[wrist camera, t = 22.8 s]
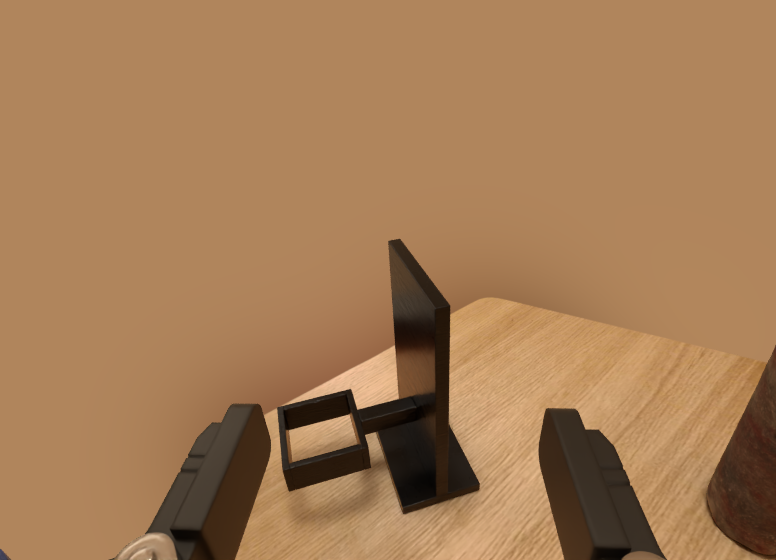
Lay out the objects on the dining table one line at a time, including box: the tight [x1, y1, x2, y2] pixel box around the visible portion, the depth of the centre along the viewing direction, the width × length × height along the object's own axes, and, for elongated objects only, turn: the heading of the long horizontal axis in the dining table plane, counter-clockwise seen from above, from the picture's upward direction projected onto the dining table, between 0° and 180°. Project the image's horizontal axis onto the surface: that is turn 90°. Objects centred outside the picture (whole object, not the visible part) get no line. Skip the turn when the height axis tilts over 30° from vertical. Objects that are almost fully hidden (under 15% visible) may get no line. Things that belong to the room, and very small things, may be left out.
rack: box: [277, 239, 480, 514], centre depth 41 cm, size 18×12×23 cm
